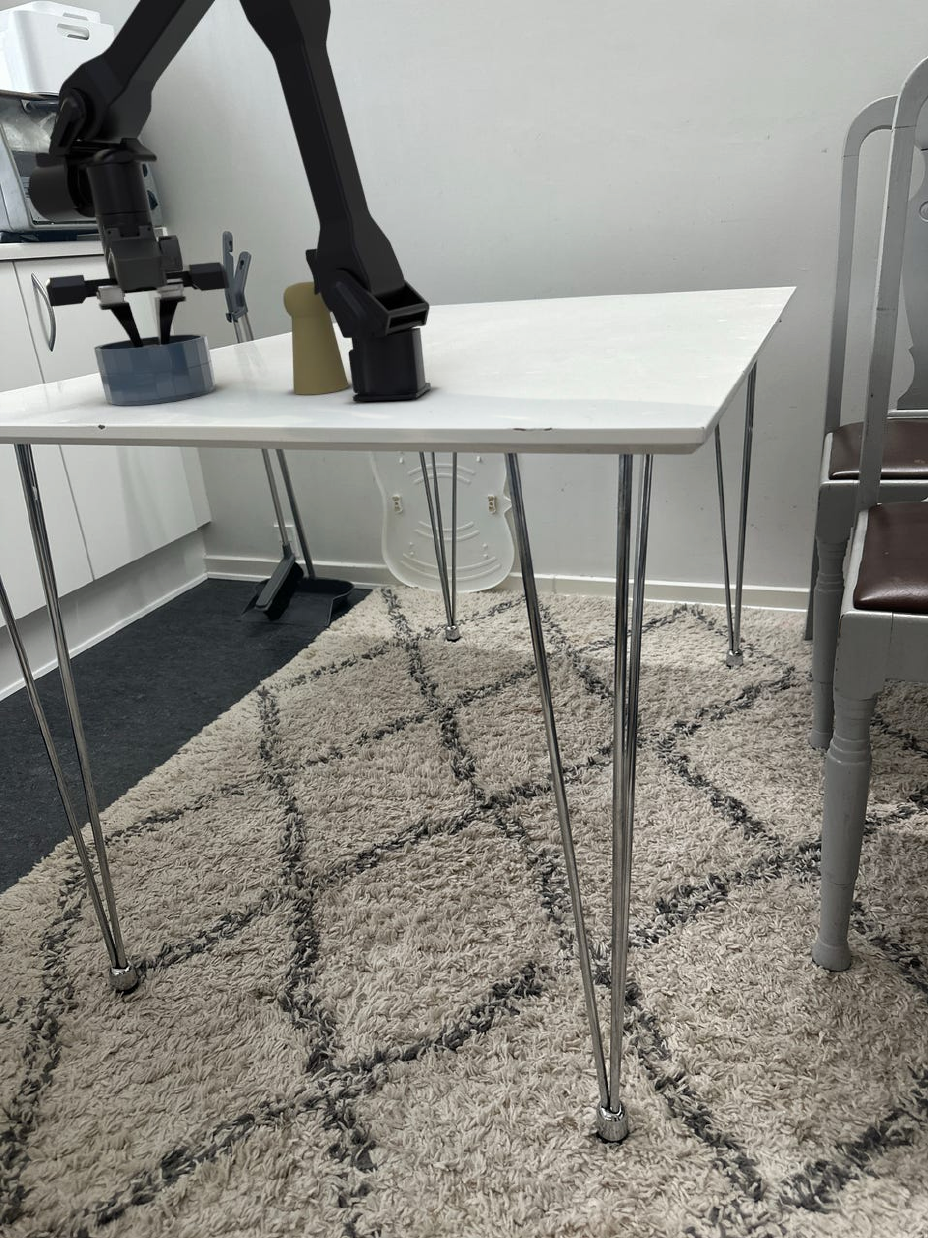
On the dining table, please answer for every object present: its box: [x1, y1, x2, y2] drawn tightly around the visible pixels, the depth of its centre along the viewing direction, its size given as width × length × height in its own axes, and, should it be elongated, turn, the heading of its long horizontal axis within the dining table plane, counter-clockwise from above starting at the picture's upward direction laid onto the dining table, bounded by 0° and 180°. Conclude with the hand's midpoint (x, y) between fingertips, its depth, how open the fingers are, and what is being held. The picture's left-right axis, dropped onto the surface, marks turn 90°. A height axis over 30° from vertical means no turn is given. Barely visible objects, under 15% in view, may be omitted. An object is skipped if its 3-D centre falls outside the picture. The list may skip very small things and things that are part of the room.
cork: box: [282, 281, 350, 396], centre depth 95 cm, size 6×6×11 cm
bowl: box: [93, 333, 217, 407], centre depth 102 cm, size 12×12×6 cm
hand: (155, 364), depth 101 cm, fingers closed
